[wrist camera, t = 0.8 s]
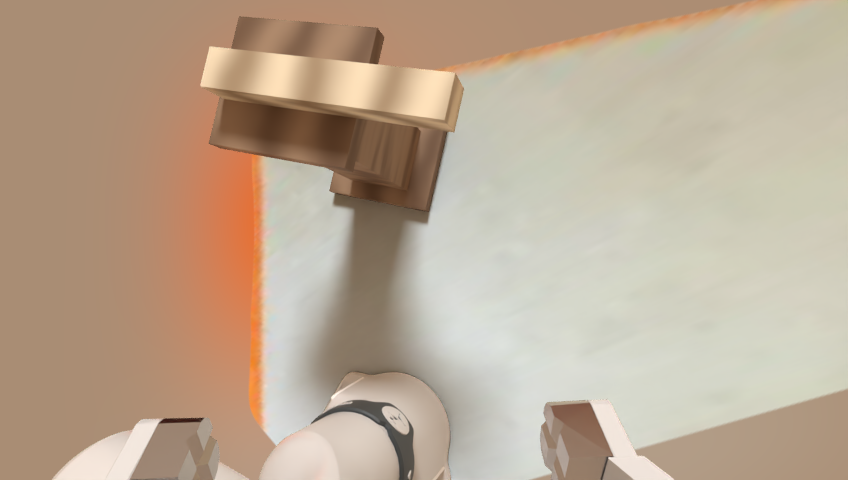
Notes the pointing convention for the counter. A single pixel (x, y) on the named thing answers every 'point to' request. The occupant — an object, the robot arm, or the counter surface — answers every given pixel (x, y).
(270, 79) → the maple bar
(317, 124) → the walnut pedestal
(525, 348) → the counter surface
